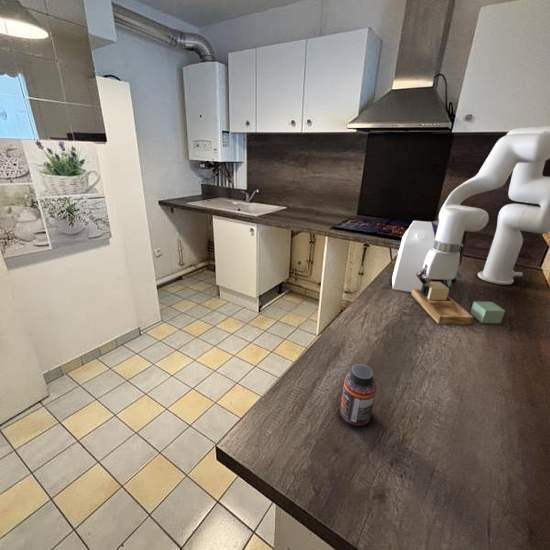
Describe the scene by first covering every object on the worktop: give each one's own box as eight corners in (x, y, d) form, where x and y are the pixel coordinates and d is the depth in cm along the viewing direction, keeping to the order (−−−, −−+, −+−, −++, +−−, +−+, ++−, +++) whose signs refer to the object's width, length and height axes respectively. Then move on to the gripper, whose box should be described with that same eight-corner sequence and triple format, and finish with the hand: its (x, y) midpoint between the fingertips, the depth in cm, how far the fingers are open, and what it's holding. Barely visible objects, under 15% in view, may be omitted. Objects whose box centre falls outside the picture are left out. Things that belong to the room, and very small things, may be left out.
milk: (422, 282, 120) (438, 220, 110) (426, 294, 110) (443, 226, 100) (391, 278, 123) (403, 217, 113) (392, 289, 113) (405, 223, 103)
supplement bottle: (336, 403, 61) (342, 360, 57) (363, 402, 61) (371, 359, 57) (344, 428, 55) (352, 382, 51) (374, 426, 56) (384, 381, 52)
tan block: (437, 292, 106) (440, 281, 104) (446, 300, 101) (449, 288, 99) (420, 292, 106) (423, 281, 104) (428, 300, 101) (431, 288, 99)
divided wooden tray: (438, 295, 109) (440, 289, 108) (471, 324, 91) (474, 317, 90) (411, 294, 109) (412, 288, 108) (438, 323, 91) (440, 316, 90)
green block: (487, 313, 97) (492, 301, 95) (500, 323, 92) (505, 310, 90) (470, 313, 97) (473, 301, 95) (481, 322, 92) (485, 310, 90)
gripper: (465, 244, 100) (451, 291, 107) (415, 242, 100) (404, 290, 107) (479, 250, 93) (463, 300, 100) (425, 249, 93) (413, 299, 100)
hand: (433, 294), depth 103 cm, fingers closed on tan block, 5 cm apart
